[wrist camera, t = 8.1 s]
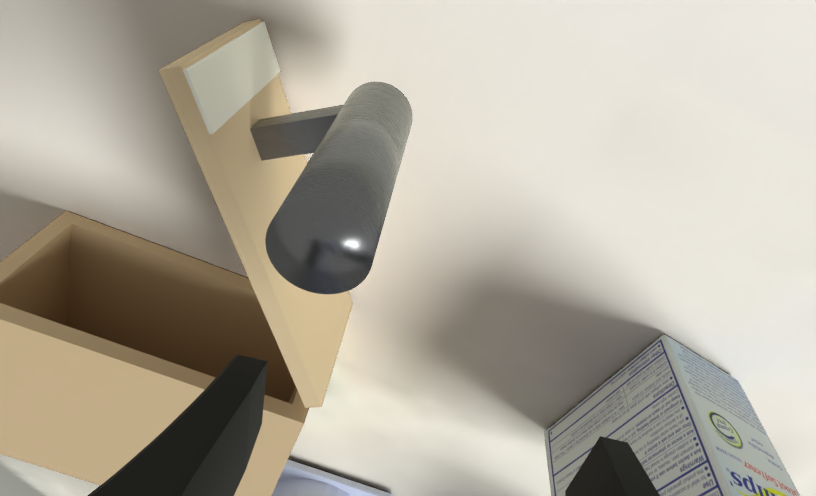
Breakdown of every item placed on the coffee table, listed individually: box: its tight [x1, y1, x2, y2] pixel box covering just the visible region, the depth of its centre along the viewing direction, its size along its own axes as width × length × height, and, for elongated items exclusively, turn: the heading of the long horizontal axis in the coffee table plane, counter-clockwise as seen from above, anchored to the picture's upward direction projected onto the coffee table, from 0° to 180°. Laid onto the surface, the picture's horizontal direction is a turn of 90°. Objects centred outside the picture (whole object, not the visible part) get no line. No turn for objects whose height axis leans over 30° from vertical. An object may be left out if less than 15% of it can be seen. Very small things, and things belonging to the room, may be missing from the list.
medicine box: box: [544, 335, 800, 496], centre depth 22 cm, size 8×4×9 cm, turn 149°
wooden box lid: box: [158, 19, 412, 408], centre depth 16 cm, size 5×12×10 cm, turn 12°
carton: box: [0, 211, 309, 496], centre depth 23 cm, size 8×12×6 cm, turn 68°
